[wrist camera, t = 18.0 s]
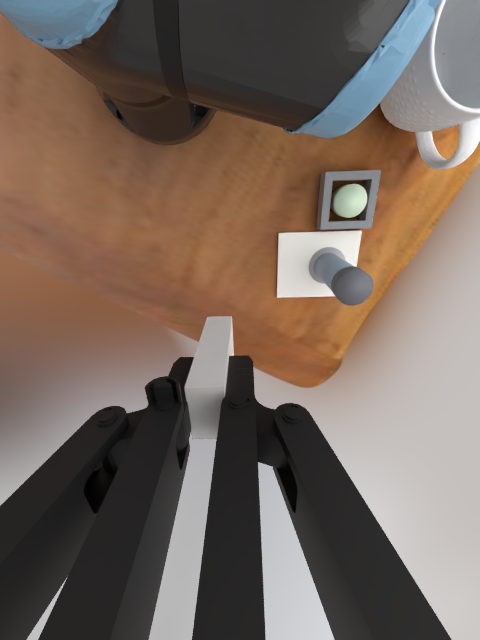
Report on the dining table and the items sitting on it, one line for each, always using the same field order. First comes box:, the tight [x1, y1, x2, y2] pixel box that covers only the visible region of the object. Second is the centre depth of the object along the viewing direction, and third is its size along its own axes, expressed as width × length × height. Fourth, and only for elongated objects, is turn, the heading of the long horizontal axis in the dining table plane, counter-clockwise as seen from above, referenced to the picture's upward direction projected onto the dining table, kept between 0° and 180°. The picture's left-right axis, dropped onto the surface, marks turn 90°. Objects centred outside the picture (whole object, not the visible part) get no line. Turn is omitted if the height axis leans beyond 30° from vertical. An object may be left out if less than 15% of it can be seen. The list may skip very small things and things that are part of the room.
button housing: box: [316, 170, 381, 230], centre depth 36 cm, size 7×7×2 cm
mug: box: [380, 0, 480, 170], centre depth 26 cm, size 15×11×13 cm
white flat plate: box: [277, 230, 362, 298], centre depth 40 cm, size 10×12×1 cm
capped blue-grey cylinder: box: [314, 253, 373, 305], centre depth 35 cm, size 4×4×11 cm
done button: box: [330, 184, 367, 218], centre depth 35 cm, size 4×4×3 cm
